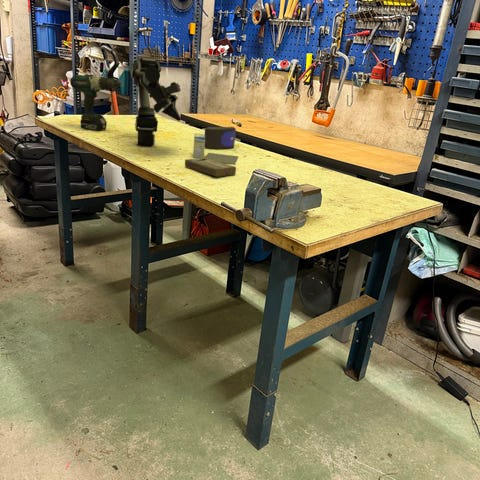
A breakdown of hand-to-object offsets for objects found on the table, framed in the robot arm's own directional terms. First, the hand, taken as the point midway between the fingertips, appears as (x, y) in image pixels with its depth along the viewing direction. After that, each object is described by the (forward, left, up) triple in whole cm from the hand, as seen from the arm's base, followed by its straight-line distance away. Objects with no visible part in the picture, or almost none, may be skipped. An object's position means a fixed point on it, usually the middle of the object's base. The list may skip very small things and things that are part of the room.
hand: (180, 120), depth 173 cm
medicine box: (+8, -1, -14) cm, 16 cm away
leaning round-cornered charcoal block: (+16, +19, -14) cm, 29 cm away
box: (+14, -23, -14) cm, 31 cm away
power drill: (-43, +32, -14) cm, 55 cm away
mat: (+18, -2, -13) cm, 22 cm away
